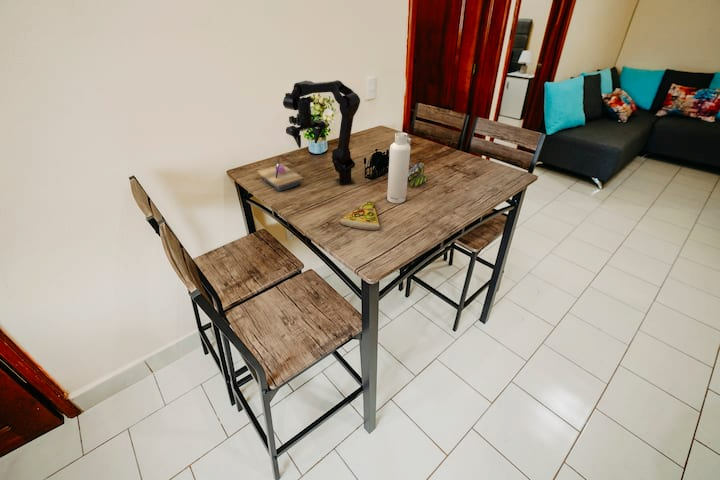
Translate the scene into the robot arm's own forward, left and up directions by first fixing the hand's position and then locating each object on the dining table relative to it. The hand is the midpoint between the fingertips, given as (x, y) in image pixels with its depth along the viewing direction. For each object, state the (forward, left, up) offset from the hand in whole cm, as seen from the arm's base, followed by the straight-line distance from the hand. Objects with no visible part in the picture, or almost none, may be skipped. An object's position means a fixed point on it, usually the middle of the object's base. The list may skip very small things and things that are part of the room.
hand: (307, 145), depth 161 cm
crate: (-7, +16, -13) cm, 22 cm away
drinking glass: (-4, -52, -13) cm, 53 cm away
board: (-7, +16, -10) cm, 20 cm away
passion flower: (-33, -42, -13) cm, 54 cm away
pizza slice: (-50, -8, -13) cm, 52 cm away
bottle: (-43, -26, -13) cm, 51 cm away
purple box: (-6, +16, -9) cm, 19 cm away
